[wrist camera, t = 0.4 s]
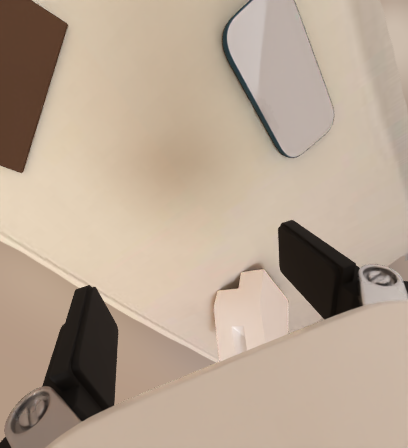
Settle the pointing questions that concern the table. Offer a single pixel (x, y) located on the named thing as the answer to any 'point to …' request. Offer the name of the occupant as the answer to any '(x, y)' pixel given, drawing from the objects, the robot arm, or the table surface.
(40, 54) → the desk pad
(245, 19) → the external hard drive
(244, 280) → the slotted wedge
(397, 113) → the table surface
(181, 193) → the table surface
